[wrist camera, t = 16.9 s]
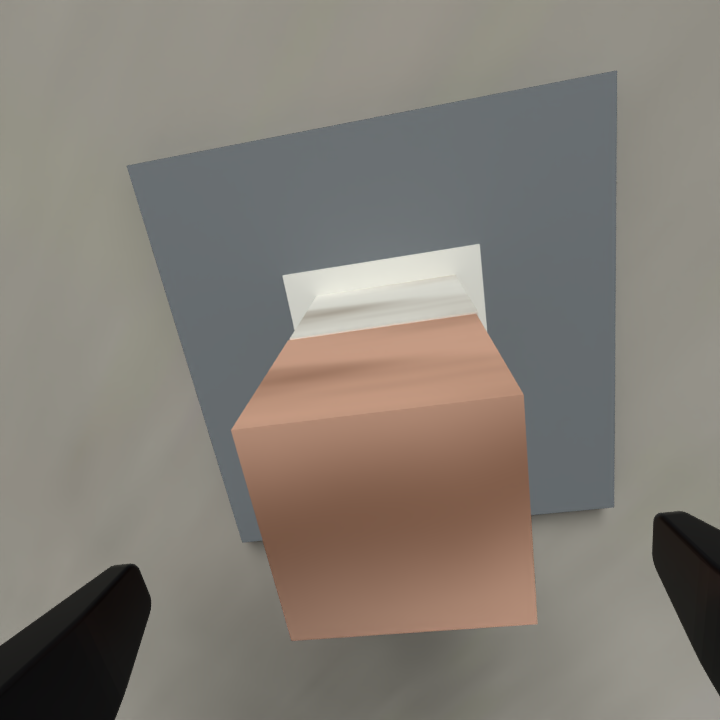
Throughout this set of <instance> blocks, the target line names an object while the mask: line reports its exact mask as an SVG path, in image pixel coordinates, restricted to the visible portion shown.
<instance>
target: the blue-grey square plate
mask: <svg viewBox="0 0 720 720" xmlns="http://www.w3.org/2000/svg"><path fill="white" fill-rule="evenodd" d="M616 143H617V71H612V72H606V73H601V74H596V75H591V76H586V77H581V78H576V79H570V80H565V81H560V82H555V83H550V84H545V85H540V86H534V87H529V88H524V89H519V90H514V91H509V92H504V93H498V94H493V95H488V96H483V97H478V98H473V99H468V100H462V101H457V102H452V103H447V104H442V105H437V106H432V107H426V108H421V109H416V110H411V111H406V112H401V113H396V114H390V115H385V116H380V117H375V118H370V119H365V120H359V121H354V122H349V123H344V124H339V125H334V126H329V127H323V128H318V129H313V130H308V131H303V132H298V133H293V134H287V135H282V136H277V137H272V138H267V139H262V140H257V141H251V142H246V143H241V144H236V145H231V146H226V147H221V148H215V149H210V150H205V151H200V152H195V153H190V154H185V155H179V156H174V157H169V158H164V159H159V160H154V161H149V162H143V163H138V164H133V165H128V166H127V168H128V172H129V175H130V178H131V182H132V185H133V188H134V191H135V195H136V198H137V201H138V204H139V208H140V211H141V214H142V217H143V221H144V224H145V227H146V230H147V234H148V237H149V240H150V243H151V247H152V250H153V253H154V256H155V260H156V263H157V266H158V269H159V273H160V276H161V279H162V282H163V286H164V289H165V292H166V296H167V299H168V302H169V305H170V309H171V312H172V315H173V318H174V322H175V325H176V328H177V331H178V335H179V338H180V341H181V344H182V348H183V351H184V354H185V357H186V361H187V364H188V367H189V370H190V374H191V377H192V380H193V383H194V387H195V390H196V393H197V396H198V400H199V403H200V406H201V410H202V413H203V416H204V419H205V423H206V426H207V429H208V432H209V436H210V439H211V442H212V445H213V449H214V452H215V455H216V458H217V462H218V465H219V468H220V471H221V475H222V478H223V481H224V484H225V488H226V491H227V494H228V497H229V501H230V504H231V507H232V510H233V514H234V517H235V520H236V524H237V527H238V530H239V533H240V537H241V540H242V542H253V541H263V540H262V537H261V533H260V530H259V526H258V523H257V519H256V516H255V512H254V509H253V505H252V502H251V498H250V495H249V491H248V488H247V484H246V481H245V477H244V474H243V470H242V467H241V464H240V460H239V457H238V453H237V450H236V446H235V443H234V439H233V436H232V432H231V429H232V428H233V426H234V424H235V423H236V421H237V420H238V418H239V417H240V415H241V413H242V412H243V410H244V409H245V407H246V406H247V404H248V402H249V401H250V399H251V398H252V396H253V395H254V393H255V391H256V390H257V388H258V387H259V385H260V384H261V382H262V380H263V379H264V377H265V376H266V374H267V373H268V371H269V369H270V368H271V366H272V365H273V363H274V362H275V360H276V358H277V357H278V355H279V354H280V352H281V351H282V349H283V348H284V346H285V344H286V343H287V341H288V340H290V337H291V336H292V334H293V332H294V331H295V329H296V328H297V326H298V325H299V323H300V321H301V320H302V318H303V317H304V315H305V314H306V312H307V310H308V309H309V307H310V306H311V304H312V303H313V301H314V299H315V298H316V296H319V295H326V294H332V293H339V292H345V291H352V290H358V289H365V288H371V287H378V286H384V285H391V284H397V283H403V282H410V281H416V280H423V279H429V278H436V277H442V276H449V275H455V274H456V276H457V278H458V279H459V281H460V283H461V284H462V286H463V288H464V289H465V291H466V293H467V294H468V296H469V297H470V299H471V301H472V302H473V304H474V306H475V307H476V309H477V311H478V317H479V319H480V321H481V322H482V324H483V326H484V328H485V329H486V331H487V333H488V334H489V336H490V338H491V340H492V341H493V343H494V345H495V346H496V348H497V350H498V351H499V353H500V355H501V357H502V358H503V360H504V362H505V363H506V365H507V367H508V369H509V370H510V372H511V374H512V375H513V377H514V379H515V380H516V382H517V384H518V386H519V387H520V389H521V391H522V392H523V394H524V408H525V425H526V441H527V458H528V474H529V491H530V508H531V515H538V514H548V513H559V512H569V511H580V510H590V509H601V508H612V507H614V444H615V293H616Z"/></svg>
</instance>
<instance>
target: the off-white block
mask: <svg viewBox="0 0 720 720" xmlns="http://www.w3.org/2000/svg"><path fill="white" fill-rule="evenodd" d="M470 314H477V316H478V311H477V309H476V307H475V306H474V304H473V302H472V301H471V299H470V297H469V296H468V294H467V293H466V291H465V289H464V288H463V286H462V284H461V283H460V281H459V279H458V278H457V276H456V274H455V275H449V276H442V277H436V278H429V279H423V280H416V281H410V282H403V283H397V284H391V285H384V286H378V287H371V288H365V289H358V290H352V291H345V292H339V293H332V294H326V295H319V296H316V298H315V299H314V301H313V303H312V304H311V306H310V307H309V309H308V310H307V312H306V314H305V315H304V317H303V318H302V320H301V321H300V323H299V325H298V326H297V328H296V329H295V331H294V332H293V334H292V336H291V337H290V340H294V339H301V338H308V337H315V336H322V335H329V334H336V333H343V332H350V331H357V330H364V329H371V328H378V327H385V326H392V325H399V324H406V323H413V322H420V321H427V320H435V319H442V318H449V317H456V316H463V315H470Z"/></svg>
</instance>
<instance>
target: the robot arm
mask: <svg viewBox="0 0 720 720" xmlns="http://www.w3.org/2000/svg"><path fill="white" fill-rule="evenodd" d="M652 556H653V562H654V565H655V568H656V570H657V572H658V575H659V577H660V579H661V581H662V583H663V585H664V587H665V589H666V592H667V594H668V596H669V598H670V600H671V602H672V604H673V606H674V609H675V611H676V613H677V615H678V617H679V619H680V621H681V623H682V626H683V628H684V630H685V632H686V634H687V636H688V638H689V640H690V642H691V645H692V647H693V649H694V651H695V653H696V655H697V657H698V659H699V661H700V663H701V665H702V666H703V668H704V670H705V672H706V673H707V675H708V677H709V679H710V681H711V682H712V684H713V686H714V687H715V689H716V691H717V692H718V694H719V696H720V530H719V529H717V528H715V527H713V526H711V525H709V524H707V523H706V522H704V521H702V520H700V519H698V518H696V517H694V516H692V515H690V514H688V513H686V512H683V511H675V512H665V513H658V514H657V515H656V516H655V518H654V522H653V545H652ZM150 610H151V597H150V594H149V592H148V589H147V587H146V585H145V582H144V580H143V577H142V575H141V572H140V570H139V568H138V567H137V566H136V565H135V564H122V565H114V566H111V567H110V568H108V569H107V570H105V571H104V572H102V573H101V574H100V575H98V576H97V577H96V578H94V579H93V580H91V581H90V582H89V583H87V584H86V585H84V586H83V587H82V588H80V589H79V590H77V591H76V592H75V593H73V594H72V595H70V596H69V597H68V598H66V599H65V600H63V601H62V602H61V603H59V604H58V605H56V606H55V607H54V608H52V609H51V610H50V611H48V612H47V613H45V614H44V615H43V616H41V617H40V618H38V619H37V620H36V621H34V622H33V623H31V624H30V625H29V626H27V627H26V628H24V629H23V630H22V631H20V632H19V633H17V634H16V635H15V636H13V637H12V638H11V639H9V640H8V641H6V642H5V643H4V644H2V645H1V646H0V720H115V718H116V715H117V713H118V710H119V707H120V705H121V702H122V700H123V697H124V694H125V691H126V688H127V685H128V682H129V679H130V675H131V672H132V669H133V666H134V663H135V659H136V656H137V653H138V650H139V647H140V643H141V640H142V637H143V634H144V630H145V627H146V624H147V621H148V618H149V614H150Z"/></svg>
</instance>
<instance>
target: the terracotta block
mask: <svg viewBox="0 0 720 720" xmlns="http://www.w3.org/2000/svg"><path fill="white" fill-rule="evenodd" d="M231 432H232V436H233V439H234V443H235V446H236V450H237V453H238V457H239V460H240V464H241V467H242V470H243V474H244V477H245V481H246V484H247V488H248V491H249V495H250V498H251V502H252V505H253V509H254V512H255V516H256V519H257V523H258V526H259V530H260V533H261V537H262V540H263V543H264V547H265V550H266V554H267V557H268V561H269V564H270V568H271V571H272V575H273V578H274V582H275V585H276V589H277V592H278V596H279V599H280V603H281V606H282V610H283V613H284V617H285V620H286V623H287V627H288V630H289V634H290V637H291V641H297V640H312V639H327V638H341V637H356V636H371V635H385V634H400V633H414V632H429V631H444V630H458V629H473V628H488V627H502V626H517V625H532V624H537V608H536V591H535V574H534V558H533V541H532V524H531V508H530V491H529V474H528V458H527V441H526V425H525V408H524V394H523V392H522V391H521V389H520V387H519V386H518V384H517V382H516V380H515V379H514V377H513V375H512V374H511V372H510V370H509V369H508V367H507V365H506V363H505V362H504V360H503V358H502V357H501V355H500V353H499V351H498V350H497V348H496V346H495V345H494V343H493V341H492V340H491V338H490V336H489V334H488V333H487V331H486V329H485V328H484V326H483V324H482V322H481V321H480V319H479V317H478V316H477V314H470V315H463V316H456V317H449V318H442V319H435V320H427V321H420V322H413V323H406V324H399V325H392V326H385V327H378V328H371V329H364V330H357V331H350V332H343V333H336V334H329V335H322V336H315V337H308V338H301V339H294V340H288V341H287V343H286V344H285V346H284V348H283V349H282V351H281V352H280V354H279V355H278V357H277V358H276V360H275V362H274V363H273V365H272V366H271V368H270V369H269V371H268V373H267V374H266V376H265V377H264V379H263V380H262V382H261V384H260V385H259V387H258V388H257V390H256V391H255V393H254V395H253V396H252V398H251V399H250V401H249V402H248V404H247V406H246V407H245V409H244V410H243V412H242V413H241V415H240V417H239V418H238V420H237V421H236V423H235V424H234V426H233V428H232V429H231Z"/></svg>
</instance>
